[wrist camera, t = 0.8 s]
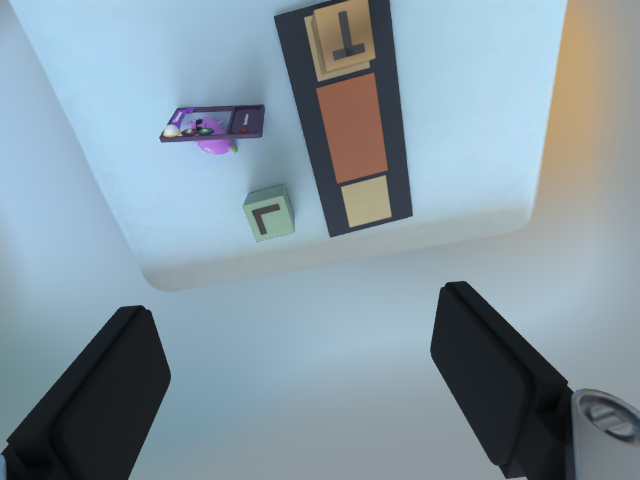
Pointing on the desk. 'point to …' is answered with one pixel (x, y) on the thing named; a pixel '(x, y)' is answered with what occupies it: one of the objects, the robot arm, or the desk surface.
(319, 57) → the honey letter block
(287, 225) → the sage letter block
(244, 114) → the purple boxed toy figure
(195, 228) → the desk surface
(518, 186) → the desk surface
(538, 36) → the desk surface
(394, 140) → the word mat
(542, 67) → the desk surface
